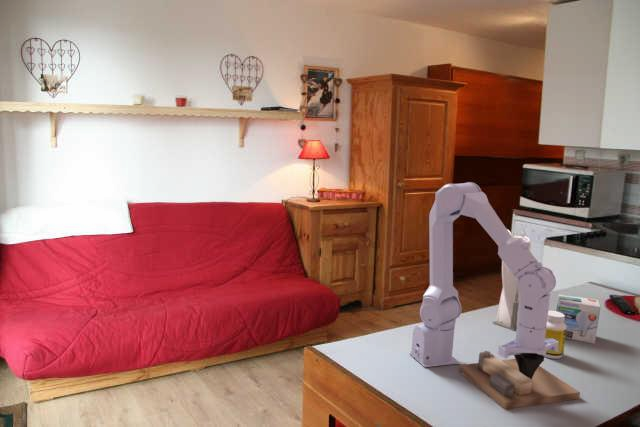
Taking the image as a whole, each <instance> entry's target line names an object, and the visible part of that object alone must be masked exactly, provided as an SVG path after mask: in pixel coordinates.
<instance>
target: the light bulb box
mask: <svg viewBox="0 0 640 427" xmlns="http://www.w3.org/2000/svg"><path fill="white" fill-rule="evenodd" d="M601 308H602V307H601V305H600V302H599V300H598V299H594V298H593V299H592V298H587V297H581V296H573V295H568V294H567V295H566V294H560V293H559V294H558V296H557V303H556V308H555V311H557V312H560V313H563V314H564V315H565V319H564V321H563V322H564V323H565V325H566V327H567V328H566V337H565V339H569V340H573V341H580V342H583V343H584V342H585V343H590V344H596V340H597V339H596V338H597V332H598V326H599V319H600V314H601Z"/></svg>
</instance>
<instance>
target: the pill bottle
mask: <svg viewBox="0 0 640 427" xmlns="http://www.w3.org/2000/svg"><path fill="white" fill-rule="evenodd" d="M564 319H565V315H564V314H563V313H560V312H557V311H556V310H548V318H547V326H546V334H545V339H551V338H552V339H554V340H556V341H558V342H559V346H558V350H552V349H551V350H546V354H543V356H544V358H549V359H555V360H557V359H561V358H562V357H563V356H564V352H565V344H566V343H565V342H566V338H565V337H566V328H567V327H566V325H565V323H564V322H563V321H564Z"/></svg>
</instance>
